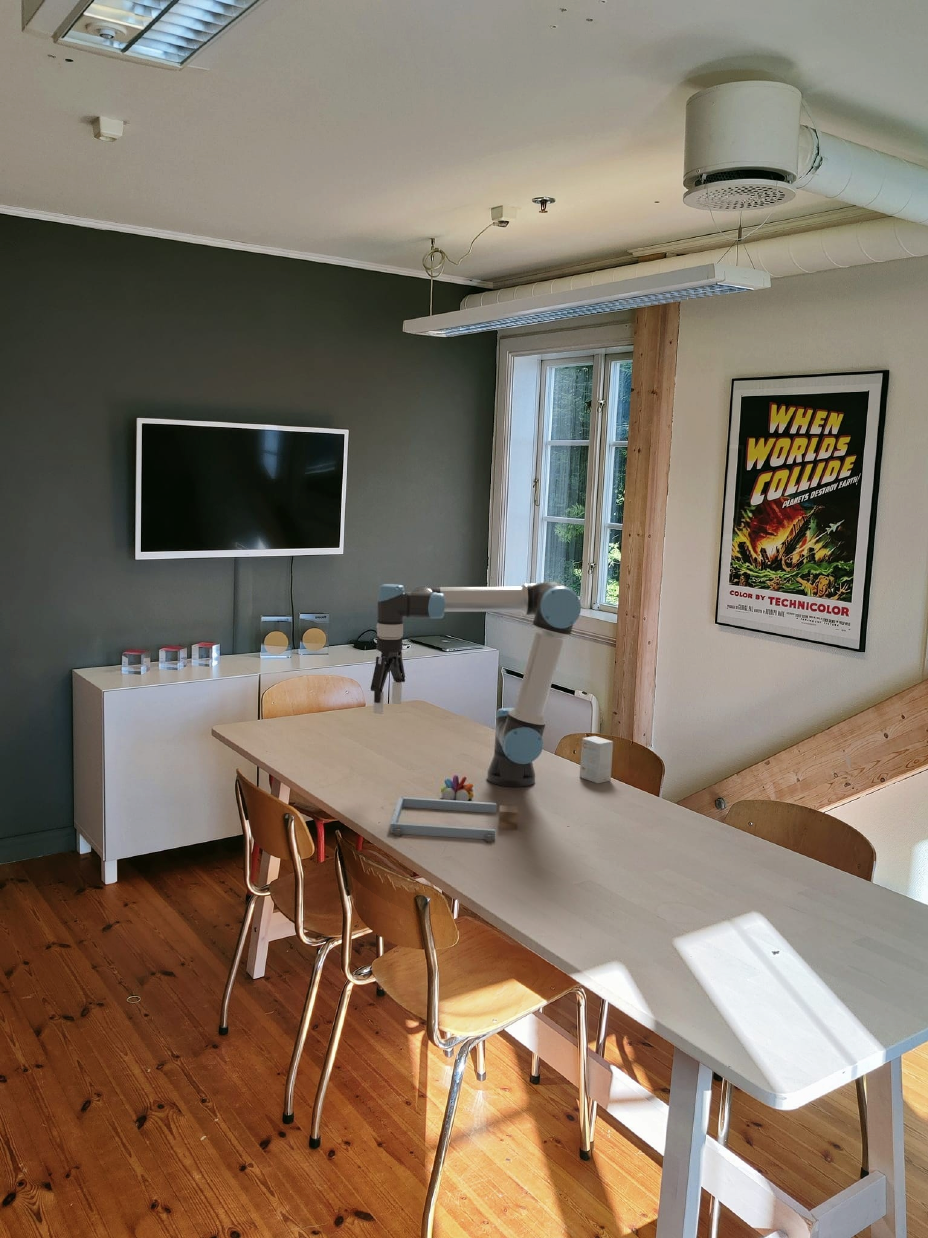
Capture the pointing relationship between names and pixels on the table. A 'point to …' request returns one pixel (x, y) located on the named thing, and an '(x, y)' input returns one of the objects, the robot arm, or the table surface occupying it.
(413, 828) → the cart frame
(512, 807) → the walnut block
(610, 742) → the small box
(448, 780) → the rainbow segmented toy
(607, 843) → the table surface
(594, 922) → the table surface
